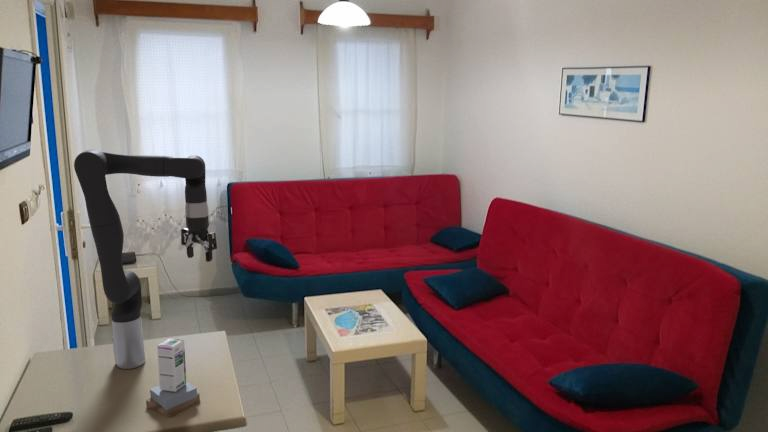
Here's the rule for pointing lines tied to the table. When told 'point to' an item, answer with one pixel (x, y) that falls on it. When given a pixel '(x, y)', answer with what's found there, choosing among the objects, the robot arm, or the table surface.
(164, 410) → the tower base
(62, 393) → the table surface
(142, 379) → the table surface
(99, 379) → the table surface
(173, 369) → the syrup box
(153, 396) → the tower top
